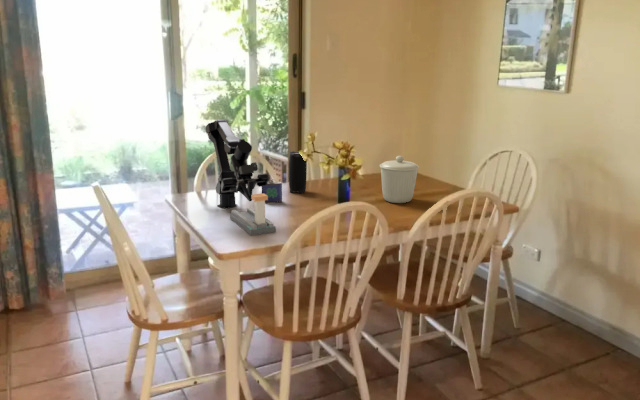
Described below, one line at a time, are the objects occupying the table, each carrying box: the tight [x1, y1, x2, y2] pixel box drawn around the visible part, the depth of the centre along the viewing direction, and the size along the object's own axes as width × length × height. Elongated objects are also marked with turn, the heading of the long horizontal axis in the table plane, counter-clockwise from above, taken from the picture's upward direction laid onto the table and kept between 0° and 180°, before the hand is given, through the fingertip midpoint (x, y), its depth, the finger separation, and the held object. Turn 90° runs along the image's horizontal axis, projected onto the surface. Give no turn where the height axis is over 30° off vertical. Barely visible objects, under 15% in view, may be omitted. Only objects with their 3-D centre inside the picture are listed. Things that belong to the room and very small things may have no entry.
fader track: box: [229, 207, 277, 236], centre depth 212 cm, size 24×10×3 cm, turn 28°
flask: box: [261, 178, 283, 204], centre depth 245 cm, size 9×3×11 cm, turn 95°
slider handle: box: [251, 193, 268, 228], centre depth 203 cm, size 5×5×12 cm
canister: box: [379, 155, 420, 204], centre depth 248 cm, size 18×18×21 cm
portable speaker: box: [288, 150, 308, 194], centre depth 262 cm, size 9×9×20 cm
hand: (250, 200), depth 211 cm, fingers closed
